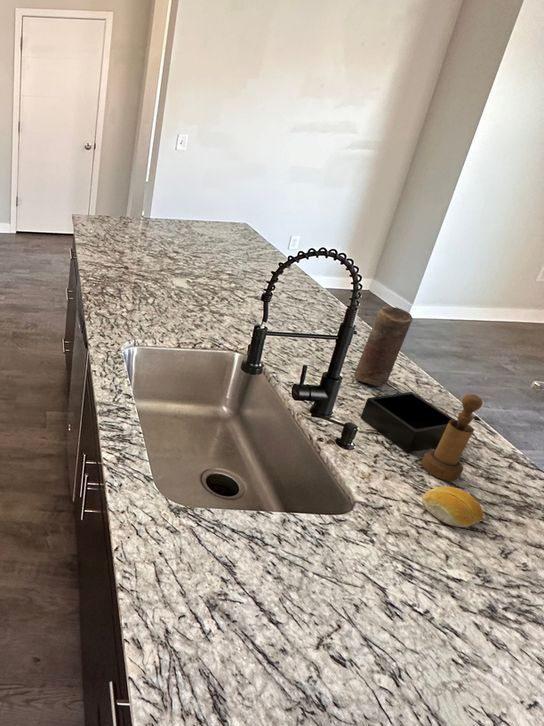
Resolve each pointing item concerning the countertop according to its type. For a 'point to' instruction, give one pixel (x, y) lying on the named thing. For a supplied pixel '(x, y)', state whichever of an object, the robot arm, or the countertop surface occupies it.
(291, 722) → the countertop surface
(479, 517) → the bread roll
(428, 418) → the black open square box
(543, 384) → the robot arm
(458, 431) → the mortar and pestle
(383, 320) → the candle
